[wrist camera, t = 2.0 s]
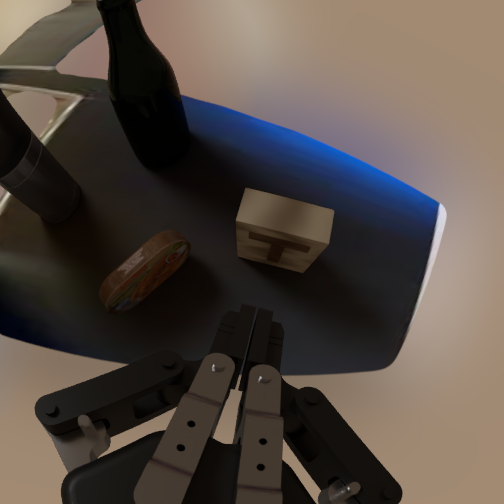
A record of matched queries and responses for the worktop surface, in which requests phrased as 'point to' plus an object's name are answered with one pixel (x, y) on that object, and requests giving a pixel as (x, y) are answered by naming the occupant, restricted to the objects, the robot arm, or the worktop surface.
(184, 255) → the tin
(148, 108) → the dark wine bottle
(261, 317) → the robot arm
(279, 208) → the birch slab
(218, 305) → the worktop surface
